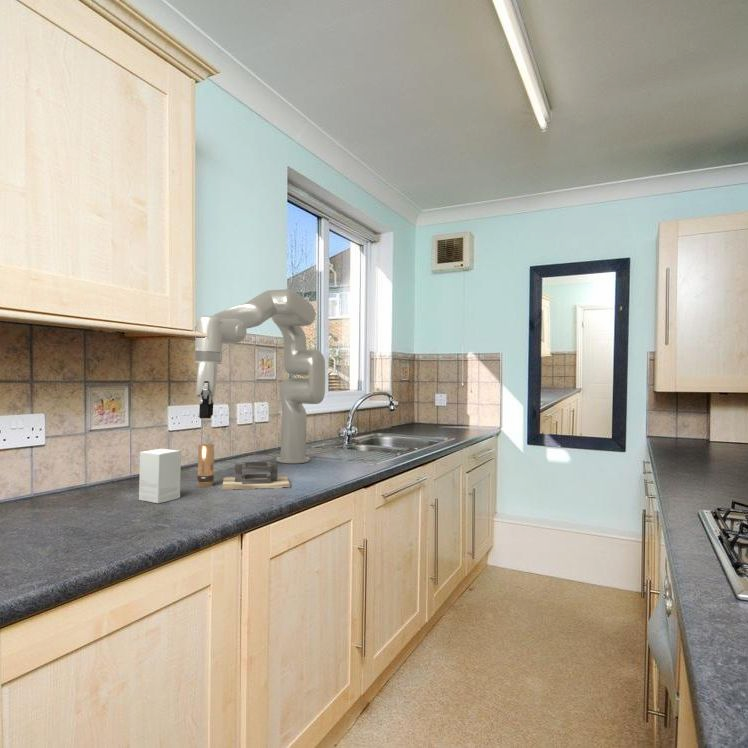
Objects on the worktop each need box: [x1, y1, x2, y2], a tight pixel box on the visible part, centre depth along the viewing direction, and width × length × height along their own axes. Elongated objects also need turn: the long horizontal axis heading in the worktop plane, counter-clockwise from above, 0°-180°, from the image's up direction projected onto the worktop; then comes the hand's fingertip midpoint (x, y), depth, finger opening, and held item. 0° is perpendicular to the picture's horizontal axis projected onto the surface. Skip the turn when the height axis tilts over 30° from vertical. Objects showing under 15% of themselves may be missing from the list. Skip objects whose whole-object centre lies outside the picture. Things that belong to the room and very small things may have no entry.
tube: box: [196, 443, 215, 488], centre depth 148 cm, size 5×5×12 cm
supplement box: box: [138, 448, 182, 504], centre depth 131 cm, size 7×7×13 cm
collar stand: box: [222, 461, 291, 491], centre depth 151 cm, size 13×19×6 cm
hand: (206, 416), depth 147 cm, fingers open, 9 cm apart
